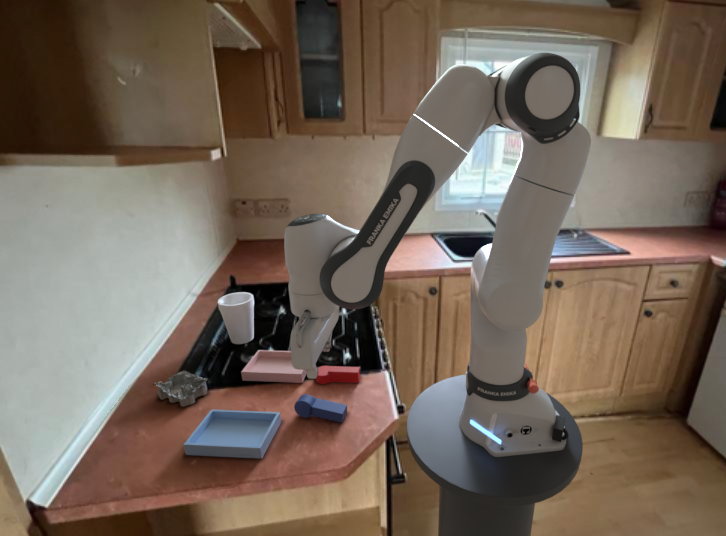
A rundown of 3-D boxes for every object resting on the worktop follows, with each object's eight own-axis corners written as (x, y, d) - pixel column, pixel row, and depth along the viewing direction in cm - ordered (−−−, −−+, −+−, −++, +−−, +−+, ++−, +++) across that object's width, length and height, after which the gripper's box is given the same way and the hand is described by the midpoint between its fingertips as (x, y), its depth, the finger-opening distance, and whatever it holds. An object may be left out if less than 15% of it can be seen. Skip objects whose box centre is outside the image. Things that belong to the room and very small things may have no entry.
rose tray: (314, 360, 111) (313, 351, 110) (302, 383, 101) (301, 374, 100) (259, 358, 112) (258, 349, 111) (242, 380, 102) (240, 371, 101)
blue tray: (281, 421, 88) (280, 412, 87) (262, 458, 79) (260, 448, 78) (213, 418, 89) (211, 409, 88) (185, 455, 80) (183, 444, 79)
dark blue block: (341, 426, 88) (346, 417, 91) (342, 410, 87) (347, 401, 89) (294, 415, 90) (300, 406, 93) (294, 399, 88) (300, 390, 91)
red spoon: (361, 374, 104) (360, 364, 103) (357, 385, 100) (357, 375, 99) (318, 373, 105) (317, 363, 104) (313, 383, 101) (312, 373, 100)
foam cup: (220, 338, 122) (213, 298, 117) (251, 327, 128) (245, 289, 123) (232, 350, 115) (224, 308, 111) (264, 339, 121) (258, 299, 116)
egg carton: (154, 397, 96) (149, 383, 95) (182, 380, 102) (179, 366, 101) (185, 410, 92) (181, 395, 90) (213, 391, 98) (210, 376, 97)
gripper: (314, 326, 67) (321, 396, 72) (343, 280, 87) (346, 337, 92) (277, 325, 68) (286, 394, 73) (313, 279, 87) (318, 336, 92)
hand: (320, 362), depth 82 cm, fingers open, 8 cm apart
